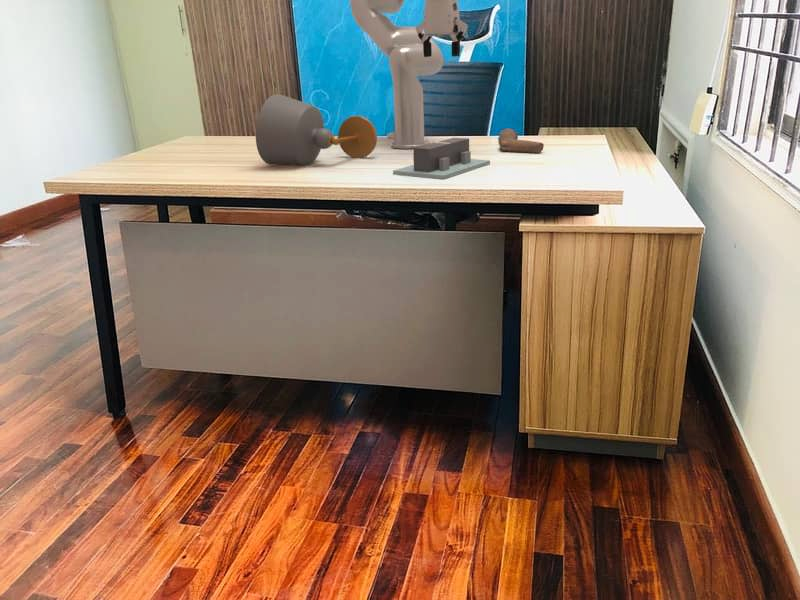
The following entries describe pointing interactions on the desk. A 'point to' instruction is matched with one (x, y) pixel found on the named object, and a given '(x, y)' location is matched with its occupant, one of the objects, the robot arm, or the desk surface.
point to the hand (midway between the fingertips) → (441, 56)
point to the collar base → (446, 168)
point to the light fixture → (306, 133)
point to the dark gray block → (439, 153)
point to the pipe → (517, 143)
